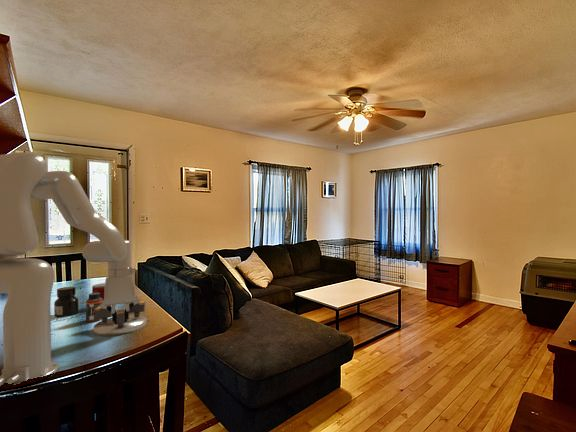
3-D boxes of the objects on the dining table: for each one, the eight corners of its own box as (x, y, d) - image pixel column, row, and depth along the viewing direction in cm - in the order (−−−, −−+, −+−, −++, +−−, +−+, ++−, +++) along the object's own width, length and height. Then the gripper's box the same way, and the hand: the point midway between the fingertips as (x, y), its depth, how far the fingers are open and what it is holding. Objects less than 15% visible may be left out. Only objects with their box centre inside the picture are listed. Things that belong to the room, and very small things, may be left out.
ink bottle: (54, 314, 134) (54, 288, 134) (78, 310, 139) (77, 284, 140) (54, 319, 126) (53, 291, 126) (79, 314, 132) (78, 288, 132)
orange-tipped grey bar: (114, 320, 116) (113, 306, 116) (110, 322, 113) (109, 307, 113) (99, 320, 116) (98, 306, 116) (94, 322, 113) (94, 308, 113)
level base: (137, 333, 107) (137, 323, 107) (83, 338, 104) (83, 327, 104) (152, 317, 125) (152, 308, 125) (106, 321, 122) (106, 311, 122)
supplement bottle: (94, 322, 120) (94, 295, 120) (82, 322, 121) (81, 295, 122) (106, 318, 126) (105, 291, 126) (94, 317, 127) (94, 291, 127)
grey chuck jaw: (117, 324, 111) (116, 309, 111) (124, 323, 112) (124, 308, 112) (116, 329, 106) (116, 313, 106) (124, 328, 107) (124, 312, 107)
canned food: (94, 306, 145) (93, 284, 145) (112, 303, 149) (112, 282, 149) (91, 310, 138) (90, 287, 139) (110, 307, 142) (110, 285, 142)
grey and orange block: (128, 318, 118) (127, 303, 118) (129, 316, 121) (129, 302, 121) (144, 316, 120) (143, 302, 120) (145, 314, 122) (145, 301, 122)
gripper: (143, 269, 116) (144, 315, 116) (95, 273, 108) (95, 323, 108) (144, 271, 110) (145, 320, 109) (93, 277, 102) (93, 329, 102)
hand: (120, 321), depth 109 cm, fingers closed on grey chuck jaw, 2 cm apart
